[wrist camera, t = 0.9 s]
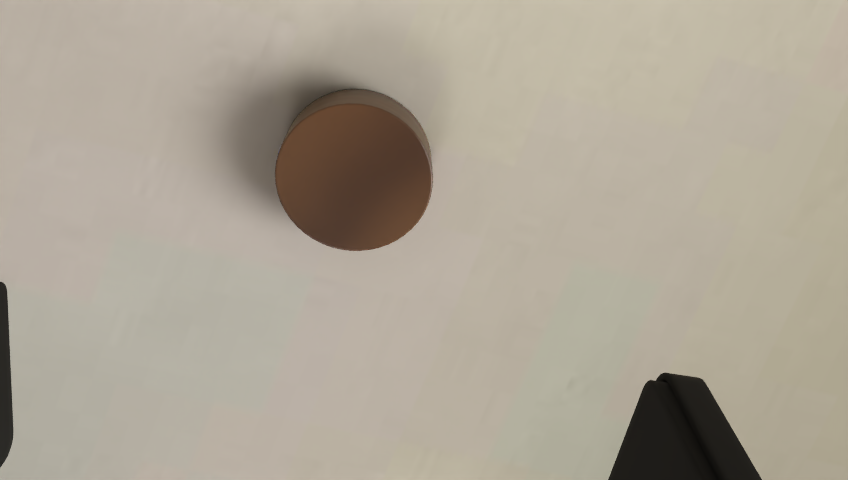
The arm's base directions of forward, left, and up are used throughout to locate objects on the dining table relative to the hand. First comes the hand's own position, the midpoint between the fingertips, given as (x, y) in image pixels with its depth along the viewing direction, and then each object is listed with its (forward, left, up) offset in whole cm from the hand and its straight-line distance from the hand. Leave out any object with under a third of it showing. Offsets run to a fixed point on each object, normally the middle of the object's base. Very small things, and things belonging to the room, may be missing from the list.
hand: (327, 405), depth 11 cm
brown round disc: (+1, -2, -16) cm, 16 cm away
